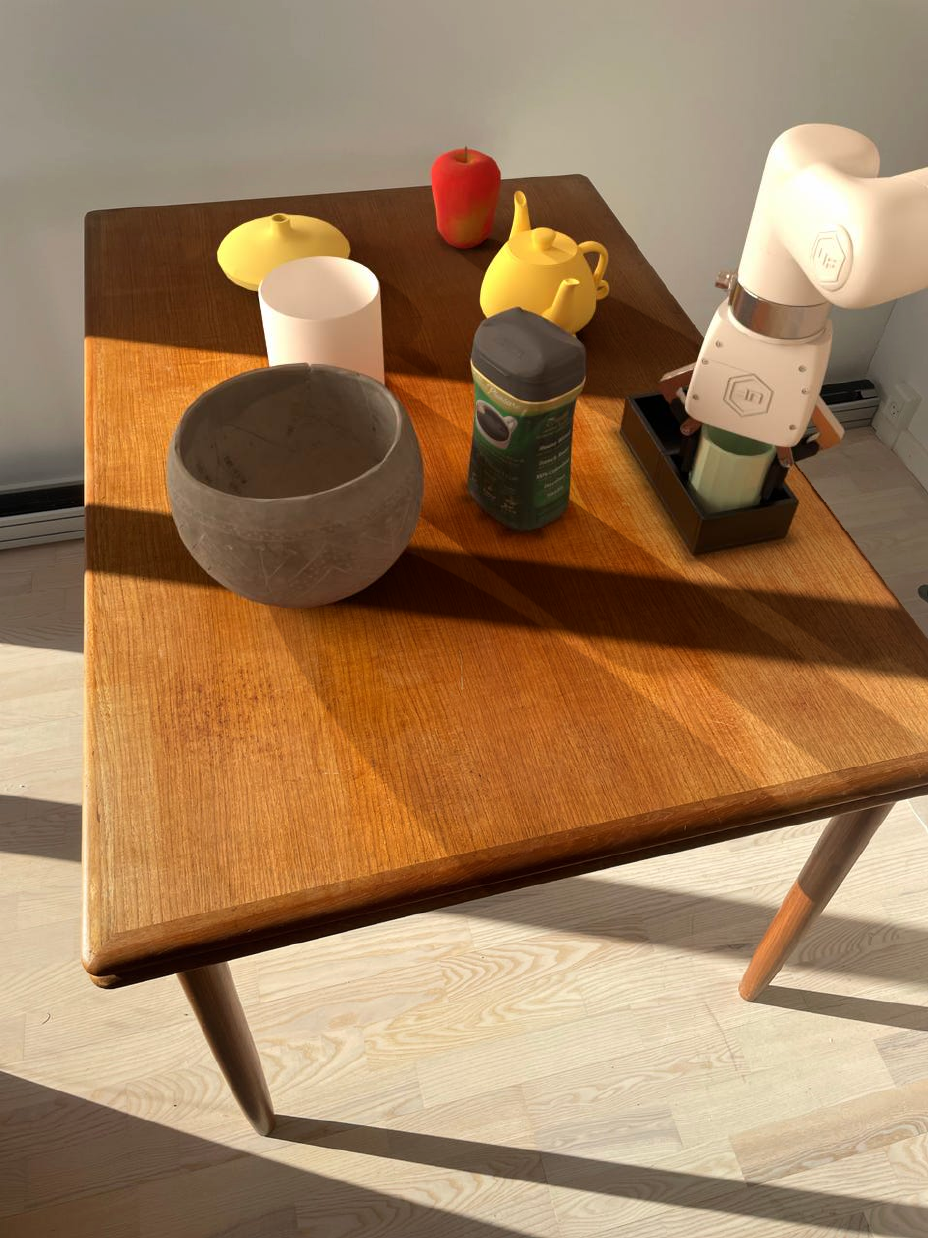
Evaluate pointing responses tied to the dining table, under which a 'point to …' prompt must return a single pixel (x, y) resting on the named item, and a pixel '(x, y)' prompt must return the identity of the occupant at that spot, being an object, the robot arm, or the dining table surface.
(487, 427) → the coffee jar
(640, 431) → the black divided tray
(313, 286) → the cup
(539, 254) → the teapot
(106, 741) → the dining table surface
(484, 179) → the apple
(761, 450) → the sage cup
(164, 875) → the dining table surface
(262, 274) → the vase
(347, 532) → the bowl
